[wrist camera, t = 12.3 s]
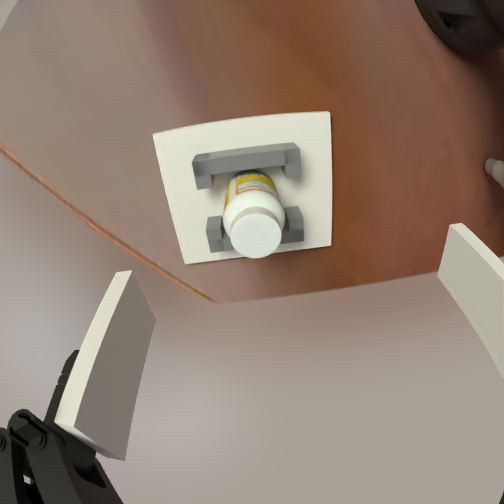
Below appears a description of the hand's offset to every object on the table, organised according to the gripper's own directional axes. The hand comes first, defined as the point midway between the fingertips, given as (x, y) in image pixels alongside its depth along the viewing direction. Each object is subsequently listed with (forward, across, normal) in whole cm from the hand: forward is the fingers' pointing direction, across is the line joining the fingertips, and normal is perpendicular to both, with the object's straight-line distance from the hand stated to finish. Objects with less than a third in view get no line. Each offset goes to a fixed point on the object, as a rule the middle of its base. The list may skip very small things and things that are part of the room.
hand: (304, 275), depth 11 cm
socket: (+21, +2, +4) cm, 22 cm away
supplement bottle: (+20, +2, +4) cm, 21 cm away
